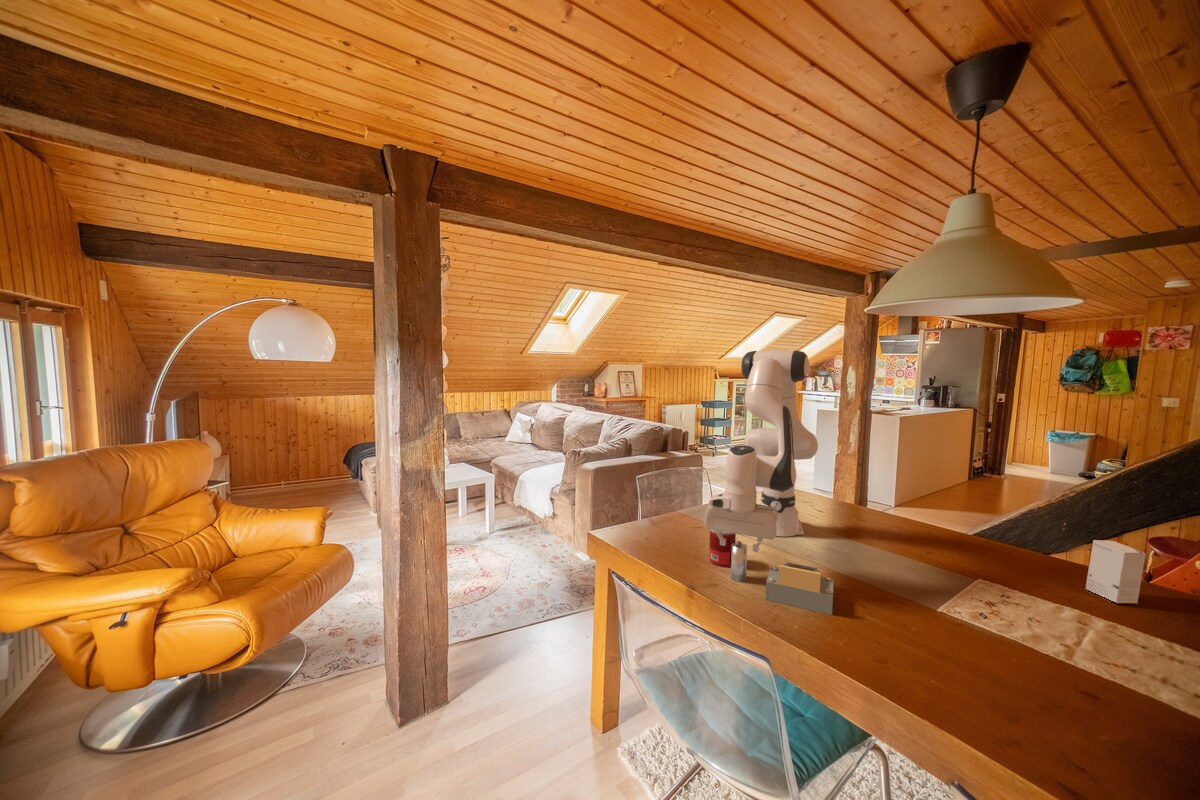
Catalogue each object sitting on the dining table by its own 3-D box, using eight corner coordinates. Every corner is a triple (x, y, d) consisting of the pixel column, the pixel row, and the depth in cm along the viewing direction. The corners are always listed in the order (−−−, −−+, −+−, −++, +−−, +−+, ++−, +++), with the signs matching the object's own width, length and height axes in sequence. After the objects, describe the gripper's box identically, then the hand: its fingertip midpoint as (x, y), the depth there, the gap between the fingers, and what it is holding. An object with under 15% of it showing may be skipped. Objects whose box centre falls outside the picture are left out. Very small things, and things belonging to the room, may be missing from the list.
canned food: (735, 568, 142) (736, 533, 142) (709, 566, 144) (710, 532, 143) (733, 558, 150) (734, 525, 149) (708, 556, 152) (709, 523, 151)
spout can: (732, 573, 139) (733, 537, 138) (747, 576, 137) (748, 539, 136) (729, 579, 135) (730, 542, 134) (744, 583, 133) (745, 545, 132)
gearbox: (771, 583, 132) (772, 550, 132) (832, 597, 125) (834, 561, 124) (765, 599, 124) (766, 563, 123) (832, 614, 116) (833, 576, 115)
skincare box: (1084, 590, 129) (1089, 539, 128) (1106, 590, 129) (1111, 539, 127) (1118, 606, 120) (1123, 551, 119) (1141, 606, 120) (1146, 551, 119)
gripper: (779, 504, 132) (778, 551, 133) (709, 494, 141) (707, 538, 142) (776, 510, 126) (775, 559, 127) (703, 499, 136) (702, 545, 137)
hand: (739, 548), depth 135 cm, fingers open, 8 cm apart
